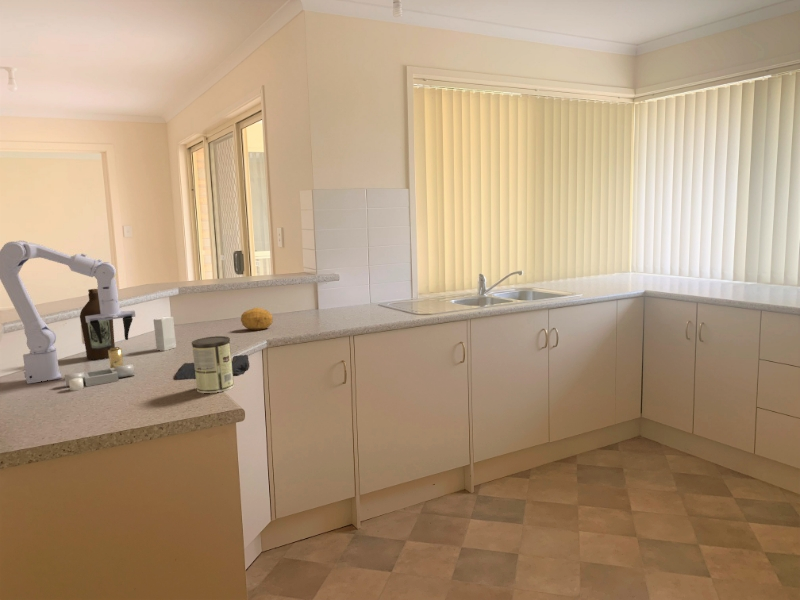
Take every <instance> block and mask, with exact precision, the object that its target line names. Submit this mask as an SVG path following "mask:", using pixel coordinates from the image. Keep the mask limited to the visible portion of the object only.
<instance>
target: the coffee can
mask: <svg viewBox="0 0 800 600" xmlns="http://www.w3.org/2000/svg"><path fill="white" fill-rule="evenodd" d="M230 338H231V337H229V336H222V335H219V336H216V335H215V336H208V337H202V338H197V339H195V340H193V341H191V346H192V347H191V348H192V356H193V363H194V365H195V374H196V379H195V382H196V391H197V393H199V394H204V393H210V394H217V392H219V393H223V392H228V391H230V390H231V389H233V388H235V384H234V376H233V371H232V352H231V344H230V343H231V342H230V341H231V339H230ZM222 391H223V392H222Z"/></svg>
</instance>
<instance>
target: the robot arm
mask: <svg viewBox="0 0 800 600" xmlns="http://www.w3.org/2000/svg"><path fill="white" fill-rule="evenodd" d="M37 258H38V259H39V258H40V259H45V260H47V261H52V262H55V263H59V264H63V265H65V266H67V267H68V268H69V270H70V271H71V272H74V273H77V274H80V275H84V276H87V277H91V278H93V277H94V278H95V279H96V280H97V287H96V289H98V296H99V304H100V312H101V314H96V315H90V316H85V318H86V322H87V323H88V322H90V324H91V325H92V327H93V329H94V330H95V332H96V334H97V336H98V339H99V343H100V344H101V343H102V337H101V332H100V324H99V321H102V320H110V319H113V320H117V319H122V322H123V323H122V324H123V331H124V335H123V336H124V339H125V341H128V340H129V333H130V330H131V329H130V328H131V326H132V322H133V318H134V317H135V318H136V311H135V310H124V311H121V309H120V308H121V307H120V301H119V292H118V286H117V280H116V277H115V276H116V275H117V270H116V267H115V265H113V264H112V263H110V262H108V261H104V262H103V260H102V259H96V258H92V257H88V256H87V254H85V253H81V254H80V253H76V254H73V255H70V254H68V253H67V254H66V253H64V252H61V251H58V250H56V249H53V248H50V247H48V246H45V245H43V244H42V245H41V244H39V243H38V244H37V243H34V242H28V241H25V240H16V241H9V242H6V243H4V245H3V246H2V247H1V249H0V282H1V284H2V285H3V287H4V289H5V291H6V294H7V295H8V297H9V299H10V301H11V303H12V305H13V307H14V309H15V310H16V313H17V315H18V317H19V320H21V322H22V324H23V327H24V328H23V329H24V335H25V338H26V345H27V348H28V350H29V353H23V355H22V357H23V358H22V359H23V364H24V372H23V373H24V378H26V379H25V380H26V384H28V385H29V384H34V383H39V382H40V383H41V381H42V382H45V381H46V382H47V380H48V381H52V380H58V379H59V380H60V379H62V373H61V372H60V368H59V360H58V352H57V347H56V346H55V345H54V344H55V343H56V340H57V336H56V333H55V332H54V330H52V329H51V328H50V327H49V326H48V325H47V323H46V321H44V320H43V319H42V317H41V315H40V314H39V311H38V310H37V308H36V305H35V303H34V301H33V300H32V297H31V296H30V294H29V292H28V290H27V287H26V285H25V284H24V282H23V280H22V278H21V275H20V271H21V269H22V268H23V266H24V264H25V263H26V262H27V261H29V259H37ZM107 317H112V318H107Z"/></svg>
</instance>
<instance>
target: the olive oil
mask: <svg viewBox="0 0 800 600" xmlns="http://www.w3.org/2000/svg"><path fill="white" fill-rule="evenodd" d="M87 292H88V294H87V295H88V302H86V304H85V305H84V306H83V308H82V309H81V310H80V314H79V320H80V325H81V331H82V336H83V341H84V342H83V343H84V347H85V353H86V354H85V355H86V359H87V358H88V359H100V360H105V359H104V358H106V359H109V354H108V350H110V348H113V347H116V345H115V333H114V332H115V331H114V319H110V320H102V321H99V324H100V332H101V337H102V343H101V344H100V343H99V339H98V336H97V334H96V332H95V330H94V329H93V327H92V325H91V324H90V322H88V323H87V322H86V318H85V316H90V315H96V314H101V312H100V304H99V296H98V288H91V289H88V291H87ZM107 318H112V317H107ZM88 359H87V360H88Z"/></svg>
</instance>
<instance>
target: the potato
mask: <svg viewBox="0 0 800 600" xmlns="http://www.w3.org/2000/svg"><path fill="white" fill-rule="evenodd" d="M240 317H241V318H240V322H241V325H242V326H243V327H244V328H246V329H248V330H251V331H260V330H265V329H267V328H269V327H270V326H271V325H272V323H274V322H273V319H274V318H273V315H272V313H271V312H269V310H267V309H264V308H260V307H254V308H251V309H248V310H246V311H244V312H243V313H242V314H241V315H240Z"/></svg>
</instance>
